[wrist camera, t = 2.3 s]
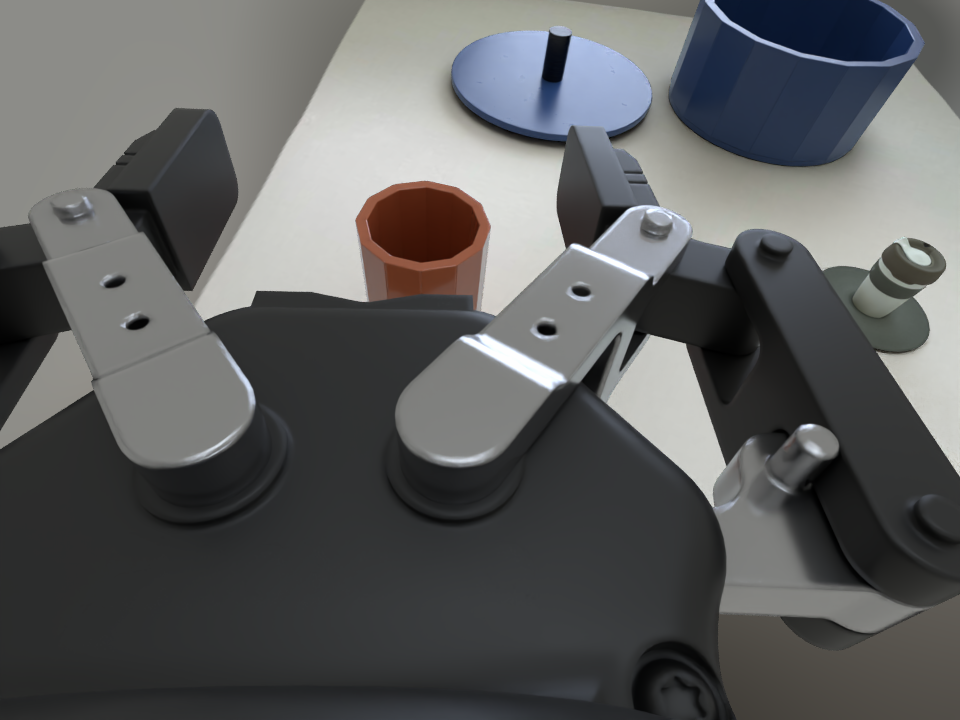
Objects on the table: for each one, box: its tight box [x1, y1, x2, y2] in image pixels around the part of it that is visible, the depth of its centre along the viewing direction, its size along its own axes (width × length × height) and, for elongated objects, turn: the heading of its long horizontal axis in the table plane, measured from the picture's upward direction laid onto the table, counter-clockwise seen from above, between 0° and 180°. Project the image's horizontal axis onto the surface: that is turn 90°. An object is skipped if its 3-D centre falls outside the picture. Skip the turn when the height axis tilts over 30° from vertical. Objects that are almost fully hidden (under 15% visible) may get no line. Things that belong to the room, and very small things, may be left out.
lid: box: [451, 26, 652, 141], centre depth 48 cm, size 19×19×5 cm
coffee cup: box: [822, 237, 946, 352], centre depth 35 cm, size 12×12×5 cm
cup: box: [355, 181, 491, 311], centre depth 28 cm, size 6×6×10 cm
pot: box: [669, 0, 925, 166], centre depth 48 cm, size 18×18×8 cm
